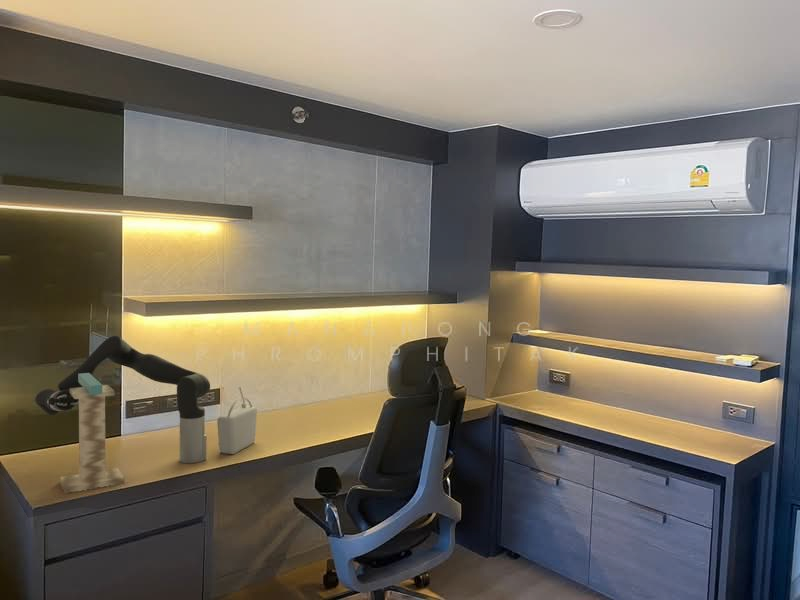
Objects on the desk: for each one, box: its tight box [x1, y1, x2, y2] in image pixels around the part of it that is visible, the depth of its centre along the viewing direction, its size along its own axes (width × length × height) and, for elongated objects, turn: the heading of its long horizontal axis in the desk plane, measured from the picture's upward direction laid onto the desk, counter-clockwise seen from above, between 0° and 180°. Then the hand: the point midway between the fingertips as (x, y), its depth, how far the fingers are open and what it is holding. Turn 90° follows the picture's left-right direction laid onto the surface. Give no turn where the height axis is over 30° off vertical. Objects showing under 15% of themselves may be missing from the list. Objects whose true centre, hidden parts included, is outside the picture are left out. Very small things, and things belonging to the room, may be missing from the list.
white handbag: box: [216, 386, 258, 455], centre depth 249 cm, size 22×8×25 cm, turn 165°
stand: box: [59, 384, 125, 494], centre depth 206 cm, size 18×12×32 cm, turn 126°
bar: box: [78, 373, 103, 395], centre depth 208 cm, size 4×26×3 cm, turn 36°
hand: (76, 398), depth 216 cm, fingers open, 8 cm apart
